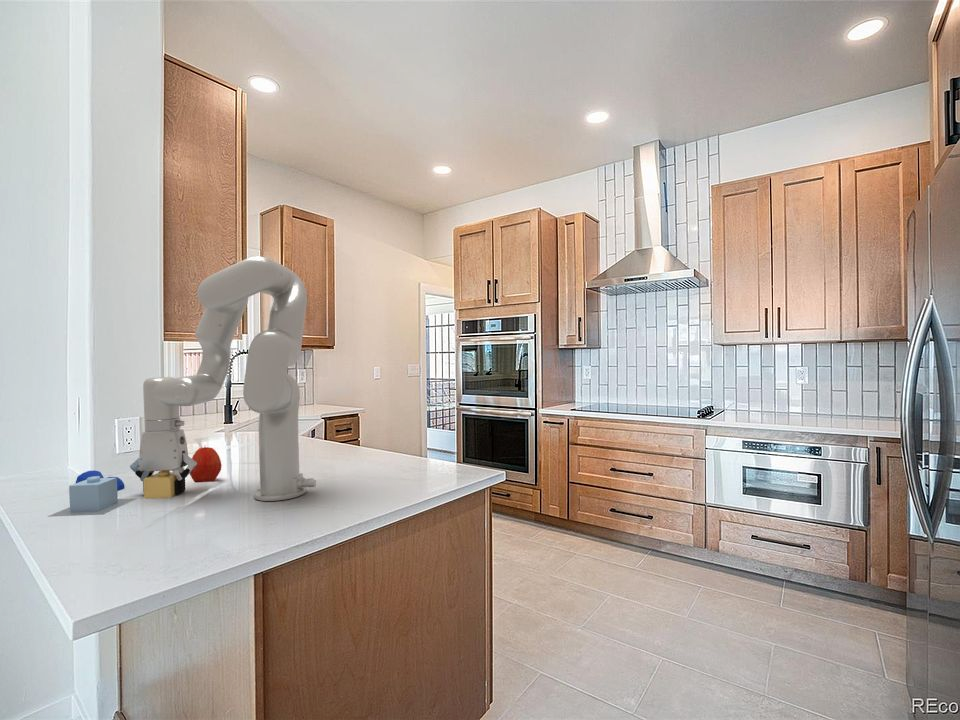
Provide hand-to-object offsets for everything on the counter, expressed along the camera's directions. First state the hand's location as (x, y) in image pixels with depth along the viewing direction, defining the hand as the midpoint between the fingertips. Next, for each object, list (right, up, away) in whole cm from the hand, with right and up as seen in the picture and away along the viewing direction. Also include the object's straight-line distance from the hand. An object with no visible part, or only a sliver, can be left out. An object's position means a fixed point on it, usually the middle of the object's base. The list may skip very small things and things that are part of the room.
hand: (164, 494), depth 126 cm
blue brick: (-10, 0, -10) cm, 14 cm away
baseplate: (-10, -2, -10) cm, 14 cm away
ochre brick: (0, -1, 0) cm, 1 cm away
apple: (+2, -1, +15) cm, 15 cm away
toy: (-22, -2, +7) cm, 23 cm away
